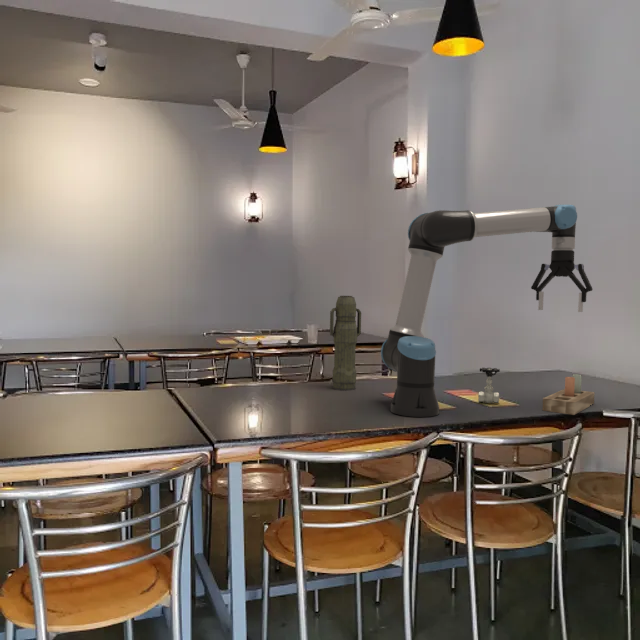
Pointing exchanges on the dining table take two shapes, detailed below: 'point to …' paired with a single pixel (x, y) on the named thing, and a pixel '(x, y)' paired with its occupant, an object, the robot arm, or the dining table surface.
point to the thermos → (345, 342)
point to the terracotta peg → (569, 386)
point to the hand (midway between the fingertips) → (560, 310)
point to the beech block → (568, 402)
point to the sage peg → (577, 383)
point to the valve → (489, 387)
